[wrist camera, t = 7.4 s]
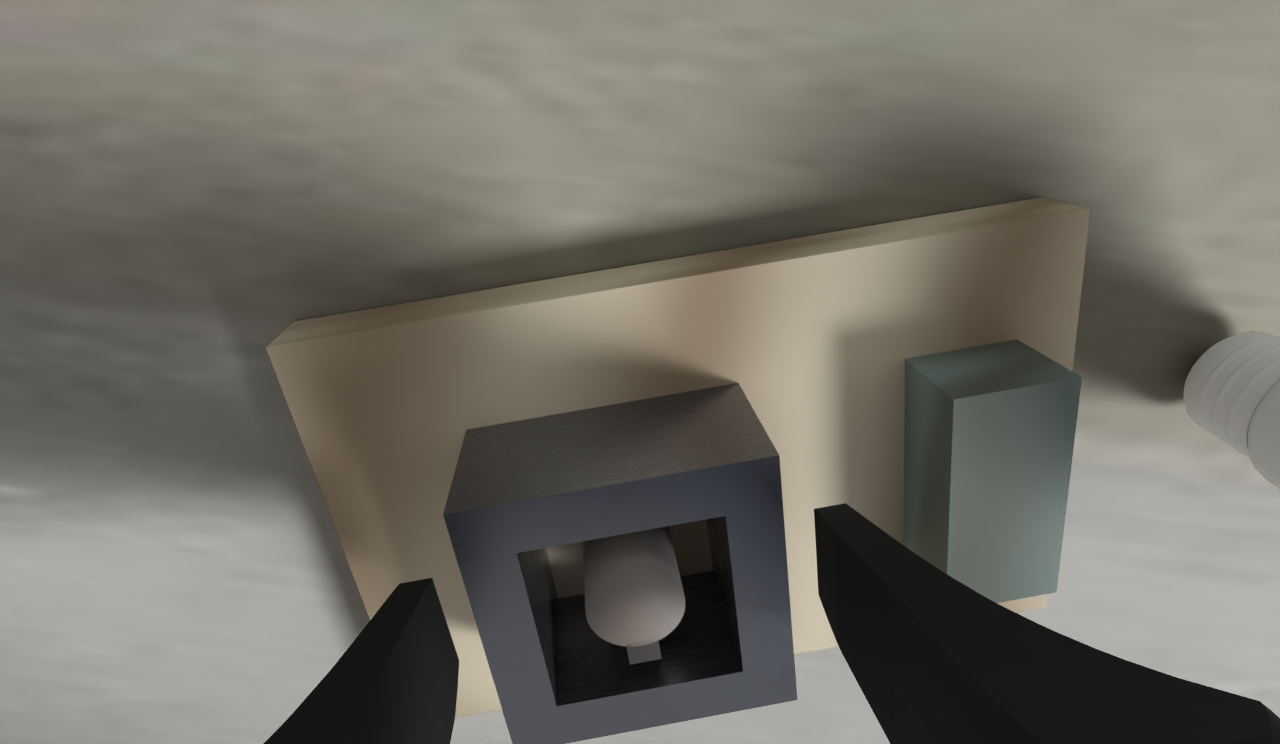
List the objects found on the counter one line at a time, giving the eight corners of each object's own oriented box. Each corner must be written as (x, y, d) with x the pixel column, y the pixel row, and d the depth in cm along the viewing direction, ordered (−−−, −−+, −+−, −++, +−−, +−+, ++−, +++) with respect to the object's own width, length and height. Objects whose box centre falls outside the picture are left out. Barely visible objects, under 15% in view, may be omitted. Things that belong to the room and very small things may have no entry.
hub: (738, 382, 14) (779, 455, 12) (758, 596, 17) (797, 699, 14) (466, 429, 14) (442, 514, 12) (523, 639, 16) (515, 752, 14)
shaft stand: (1042, 197, 15) (1223, 242, 11) (1011, 568, 19) (1134, 705, 15) (293, 321, 15) (186, 419, 10) (422, 677, 19) (381, 850, 14)
